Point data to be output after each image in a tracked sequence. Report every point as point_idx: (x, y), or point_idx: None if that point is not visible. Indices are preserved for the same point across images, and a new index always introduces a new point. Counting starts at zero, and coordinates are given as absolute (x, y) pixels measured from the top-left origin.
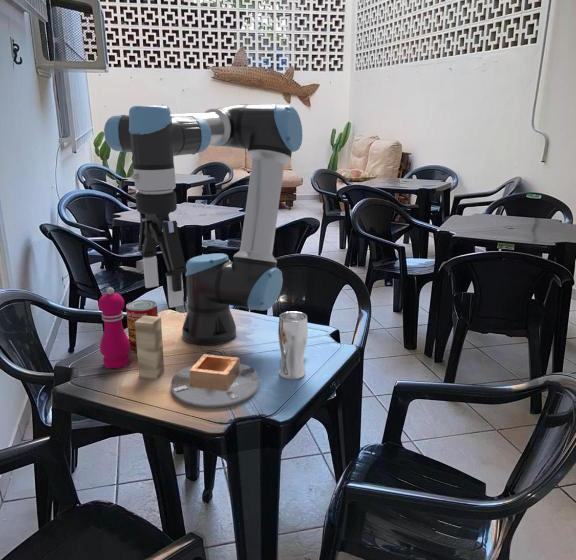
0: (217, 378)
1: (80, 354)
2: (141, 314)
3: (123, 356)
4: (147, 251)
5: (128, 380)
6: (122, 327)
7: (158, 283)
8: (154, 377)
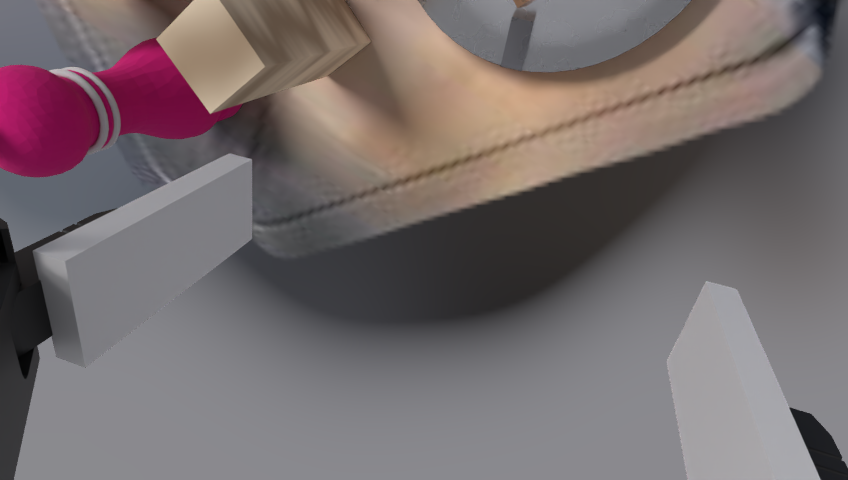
0: None
1: None
2: None
3: None
4: (21, 384)
5: (330, 112)
6: (128, 74)
7: (240, 165)
8: (365, 45)
